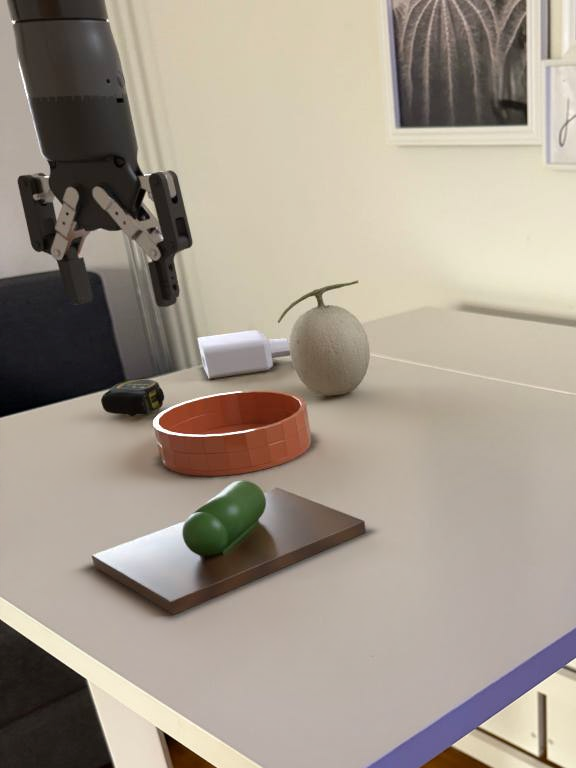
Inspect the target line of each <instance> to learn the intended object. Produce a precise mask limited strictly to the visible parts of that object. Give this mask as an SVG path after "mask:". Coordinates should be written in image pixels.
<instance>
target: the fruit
mask: <svg viewBox="0 0 576 768" xmlns="http://www.w3.org/2000/svg"><path fill="white" fill-rule="evenodd" d="M355 284H359V280H358V279H357V280H353V281H351V282H344V283H336V284H331V285H326V286H323V287H321V288H316V289H314V290H312V291H310V292H308V293H306V294H304V295H302V296H301V297H300V298H298V299H296V300H295V301H293V302H292V303H290V305H288V307H287V308H285V309H284V311H283V312H282V313H281V315H280V316H279V318H278V320H277V323H278V324H280V323H281V321H282V320H283V318H284V317H285V316H286V314H287V313H288V312H289V311H290V310H292V309H293V307H295V306H296V305H298V304H299V303H301V302H303V301H304V300H306V299H308V298H310V297H315V299H316V303H317V306H315V307H312V308H311V309H309V310H307V311H305V312H303V313H302V314H301V315H300V316H299V317H298V318H297V319H296V321H295V322H294V323H293V326H292V328H291V330H290V334H289V341H288V342H289V348H290V356H289V357H290V360H291V363H292V366H293V369H294V372H295V373H296V374H297V376H298V378H299V380H300V382H301V383H302V384H303V385H304V386H305V387H306V388H307V389H308V390H310V391H311V392H313V393H314V394H317V395H320V396H329V397H330V396H341V395H342V396H343V395H345V394H346V395H347V394H349V393H350V392H352V391H354V390H355V389H356V388H358V387H359V386H360V384H361V383H362V382H363V381H364V378H365V376H366V375H367V371H368V368H369V364H370V356H371V354H370V353H371V351H370V343H369V339H368V335H367V332H366V330H365V328H364V326H363V325H362V323H361V322H360V320H359V319H358V318H357V317H356V315H354V314H353V313H352V312H350V311H349V310H348V309H346V308H344V307H341V306H338V305H332V304H325V303H324V299H323V294H324V293H326V292H328V291H333V290H336V289H341V288H343V287H347V286H352V285H355Z"/></svg>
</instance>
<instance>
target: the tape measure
mask: <svg viewBox="0 0 576 768" xmlns="http://www.w3.org/2000/svg"><path fill="white" fill-rule="evenodd" d="M164 400H165V394H164V391H163V389H162V387H161V386H160V384H159V382H158V381H156V380H153V379H145V378H143V379H132V380H126V381H123V382H119V383H117V384H115V385H113V386H112V387H111V388H110V389H109V390H107V391H106V392H105V393H104V394H103V395H102V396H101V399H100V402H101V406H102V409H103V410H104V411H105V412H106V413H108V414H113V415H124V416H125V415H127V416H128V417H131V418H132V417H136V416H138V415H139V416H142V415H143V416H148V415H150V414H151V413H152V412H154V411H157V410H159V409H161V408H162V406H163V403H164Z"/></svg>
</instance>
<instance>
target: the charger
mask: <svg viewBox="0 0 576 768" xmlns="http://www.w3.org/2000/svg"><path fill="white" fill-rule="evenodd" d="M289 342H290V341H289V340H288V339H287V338H286V337H281V338H274V339H273V338H272V339H268V338H267V337H266V336H265V335H264V333H263V332H262V331H258V330H256V329H254V330H253V329H252V330H245V331H237V332H231V333H230V332H229V333H223V334H222V333H221V334H215V335H208V336H201V337H199V336H198V337H197V343H198V348H199V352H200V356H201V362H202V366H203V369H204V371H205V374H206V376H207V378H208V379H218V378H223V377H224V378H225V377H232V376H238V375H239V376H240V375H243V374H244V375H245V374H252V373H260V372H267V371H269V370H270V369H271V368H272V367H274V362H273V359H276V358H282V357H283V358H284V357H290V348H289Z"/></svg>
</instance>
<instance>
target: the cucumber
mask: <svg viewBox="0 0 576 768" xmlns="http://www.w3.org/2000/svg"><path fill="white" fill-rule="evenodd" d="M265 507H266V499H265V495H264V491H263V490H262V488H261V487H260V486H259V485H257V484H256V483H254V482H252V481H250V480H236V481H234V482H232V483H230V484H229V485H227V486H226V487H225V488H224V489H222V490H221V491H220V492H218V493H217V494H216V495H215V496H213V497H212V498H211V499H210V500H208V501H207V502H206V503H204V504H203V505H202V506H200V507H199V508H198V509H197V510H195V511H194V512H193V513H192V514H190V515H189V517H187V518H186V520H184V521H185V523H184V526H183V533H182V535H183V539H184V542H185V544H186V546H187V547H188V548H189V549H190V550H191V551H192V552H194V553H195V554H197V555H200V556H205V557H210V556H214V555H217V554H218V555H224V554H225V553H226V552H227V551H228V550H230V549H231V548H232V547H233V546H234V545H235V544H236V543H237V542H238V541H239V540H241V539H242V538H243V537H244V536H245V535H246V534H247V533H248V532H249V531H251V530H252V529H253V528H254V527H255V526H256V525H257V524H258V523H259V518H260V517H261V516H262V514H263V513H264V510H265Z"/></svg>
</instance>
